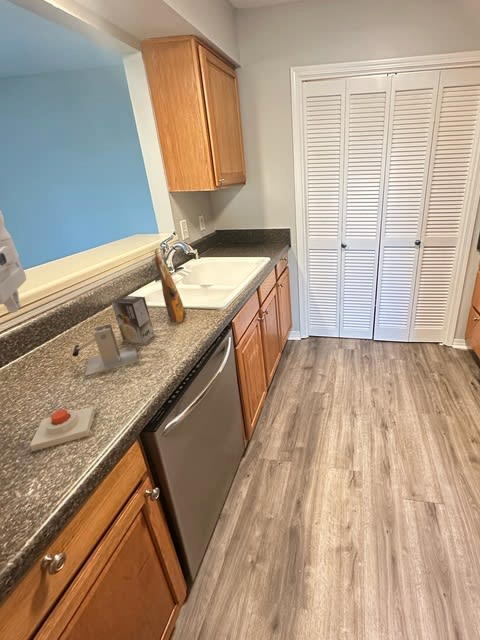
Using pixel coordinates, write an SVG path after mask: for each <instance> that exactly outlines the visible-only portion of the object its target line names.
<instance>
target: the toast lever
mask: <svg viewBox="0 0 480 640" xmlns="http://www.w3.org/2000/svg"><path fill="white" fill-rule="evenodd" d="M104 329H107V328H106V327H104V328H102V329H100V330H104ZM94 342H96V340H95V337H94V336H93V337H91V338H89V340H87V341H86V342H84V343H82V344H80V345H79V344H75V345H74V347H73V351H72V357H75V358H76V357H78V356H79V353H80V351H83V350H84V349H85V348H87V347H89V346H90V345H92V344H93V343H94Z"/></svg>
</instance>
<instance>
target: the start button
mask: <svg viewBox="0 0 480 640" xmlns="http://www.w3.org/2000/svg"><path fill="white" fill-rule="evenodd" d="M67 410H68V409H59V410H57V411H55V412H54V413H52V414H51V416H50V417H51V419H52V422H53V424H54V425H58V424H62V423H63V422H65V421H67V420H68V419H69V414H68V412H67Z"/></svg>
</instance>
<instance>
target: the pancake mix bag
mask: <svg viewBox="0 0 480 640" xmlns="http://www.w3.org/2000/svg"><path fill="white" fill-rule="evenodd" d="M154 254H155V255H154V261H155V266H156V269H157V272H158V275H159V277H160V283H161V288H162V289H161V290H162V295H163V300H164V304H165V308H166V312H167V315H168V318H169V321H170V323H176V324H177V323H182V322H183V320H184V313H185V308H184V304H183V301H182V298H181V296H180V293H179V291H178V288H177V286H176V283H175V281H174V279H173V278H172V275H171V273H170V270H169V268H168V267H167V264H166V263H165V261H164V260H163V259H164V258H162V256H161V254H160V253H159V250H158V248H156V249H155V250H154Z"/></svg>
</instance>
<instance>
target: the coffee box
mask: <svg viewBox="0 0 480 640" xmlns="http://www.w3.org/2000/svg"><path fill="white" fill-rule="evenodd" d="M111 306H112V309H113V312H114V315H115V316H114V317H115V319H116V322H117V325H118V329H119V331H120V335H121V338H122V341H123V342H128V343H136V344H137V343H138V344H145V343H147V342H148V341H149V340H151V339H152V338H154V336H155V331H154V327H153V324H152V320H151V316H150V312H149V309H148V305H147V301H146V297H145V296H135V295H134V296H133V295H132V296H131V295H122V296H120V297H118V298H117V299H115V300H114V301H111Z"/></svg>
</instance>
